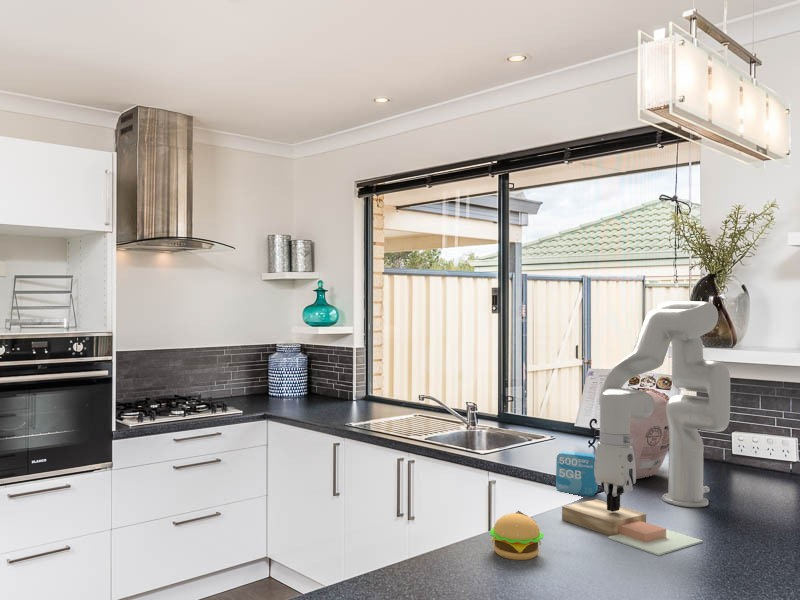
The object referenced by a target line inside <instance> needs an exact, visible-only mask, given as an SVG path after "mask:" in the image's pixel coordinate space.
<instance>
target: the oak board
mask: <svg viewBox="0 0 800 600" xmlns="http://www.w3.org/2000/svg"><path fill="white" fill-rule="evenodd" d="M561 520H562V521H565V522H567V523H570V524H574V525H576V526H580V527H582V528H586V529H588V530H591V531H595V532H597V533H600V534H603V535H606V536H608V537H609V536H613V535H617V534H619V533H618V525H621V524H626V523H630V522H634V521H638V520H639V521H642V522H645V523H647V513H644V512H642V511H638V510H634V509H632V508H627V507H624V506H621V505H620V509H619V510H618V511H614V512H612V511H609V510H607V501H603V500H601V499H592V500H587V501H582V502H577V503H572V504H567V505H562V507H561Z"/></svg>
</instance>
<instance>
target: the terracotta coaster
mask: <svg viewBox="0 0 800 600" xmlns="http://www.w3.org/2000/svg"><path fill="white" fill-rule="evenodd" d="M666 529H667V528H664V527H661V526H658V525H654V524H652V523H649V522H646V523H645V522H642V521H639V520H638V521H634V522H630V523H626V524H621V525H618V533H619V534H622V535H625V536H628V537H631V538H634V539H637V540H640V541H643V542H650V541H654V540H657V539H661V538H665V537H666Z"/></svg>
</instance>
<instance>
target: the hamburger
mask: <svg viewBox="0 0 800 600" xmlns="http://www.w3.org/2000/svg"><path fill="white" fill-rule="evenodd" d="M525 515H526V514H525ZM525 515H522V514H517V513H516V512H515V513H508V514H505V515H502V516H501V517H499V518H498V519H497V520H496V522H495V523H494V526H493V527H492V528H491V530H490V531H489V533H490V536H492V537H491V539H490V541H491V544H493V550H494V551H495V553H496V554H497V555H499V556H500V557H502V558H504V559H505V558H506V559H510V560H518V561H526V560H531V559H533V558H535V557H537V556H538V554H539V552H540V549H539V546H541V545H542V542H541V540H543V538H544V533H542V532H541V531H540V527H539V526H538V522H537V521H535V520H534V519H533V518H531V517H530V516H528V515H527V516H525ZM532 519H533V520H532ZM536 522H537V523H536Z"/></svg>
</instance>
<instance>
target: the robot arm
mask: <svg viewBox="0 0 800 600" xmlns="http://www.w3.org/2000/svg"><path fill="white" fill-rule="evenodd" d="M643 320H644V321H643V323H642V324H641V328H640V331H639V332H638V333H639V334H638V336H637V338H636V341H635V344H634V346H633V349H632V352H630V354H628V355H626V356H625V357H624V358H623V359H622V360H620V361H619V362H618V363H617V364H615V365H614V366H613V368H611V370H609V372H608V373H607V375H606V376H605V379H604V382H603V385H602V388H601V390H600V394H599V398H598V403H599V404H598V405H599V442H597V445H596V450H595V464H594V475H595V478H596V480H595V482H596V483H597V484H598V486H601V487H602V489H603V490H604V494H605V495H606V502H607V510H609V511H612V512H614V511H618V510H619V509H620V506H621V496H622V495H623V494H624V493H626V492H632V491H633V490H634V489H633V485H634V484H636V481H637V479H636V467H635V457H634V451H633V447H632V446H630V443H633V438H630V419H631V418H635V419H644V418H647V417H649V416H650V415H651V414H652V412H653V411H654V407H655V403H654V399H653V397H652V396H651V395H650V394H649V393H647V392H645V391H646V390H639V389H631V388H624V385H626V383H627V382H629V380H631V379H633V378H635V377H637V376H640V375H642V374H646V373H648V372H651V371H653V370H657V369H659V368H660V367H661V366H662V365H663V364H664V362H665V358H666V356H667V353H668V350H669V347H670V344H671V378H672V379H671V381H672V384H673V386H674V387H675V388H676V389H678V390H681V391H687V392H696V393H697V392H698V393H705V394H707V396H706V397H705V396H699V395H688V394H677V395H673V396H672V397H670V398H669V399H668V400H667V405H666V414H667V420H668V427H669V448H668V482H667V483H668V488H667V490H668V491H667V492H666V493H663V495H662V500H663V501H664V502H666V503H668V504H671V505H674V506H675V505H676V506H679V507H686V508H703V507H707V506H708V505H709V499H707V498H706V497H704V494H706V493H709V492H710V487H709V486H708V485H704V450H705V449H704V447H705V446H704V440H703V439H702V436H701V435H700V433H699V430H701V431H708V432H715V433H718V432H720V433H721V432H723V431H725V430H726V429H727V428H728V427H729V424H730V420H731V373H730V371H729V368H728V367H727V365H726V364H725V363H723V362H722V361H719V360H712V359H711V360H710V359H708V360H707V359H704V352H703V351H704V348H703V347H704V346H703V340H702V338H701V337H702V336H703V335H707V333H710V332H711V331H712V330H714V328H715V327H716V326H717V324H718V321H719V311H718V308H717V307H716V305H715V304H713V303H712V302H709V301H685V300H683V301H682V300H681V301H678V300H676V301H675V300H674V301H673V300H672V301H664V302H662V303H659V304H658V306H657V307H656V309H652V310H651V311H649V312H648V313H647V314H646V315H645V318H644V319H643Z"/></svg>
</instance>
